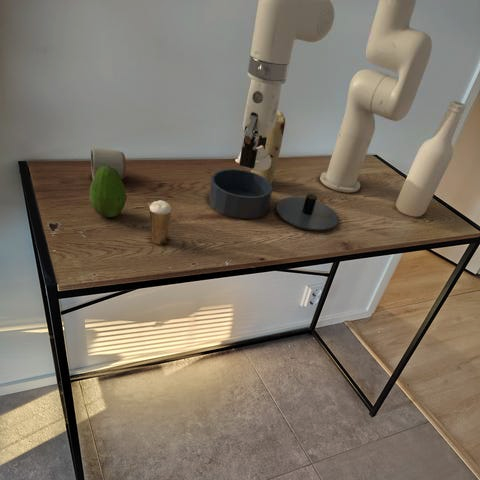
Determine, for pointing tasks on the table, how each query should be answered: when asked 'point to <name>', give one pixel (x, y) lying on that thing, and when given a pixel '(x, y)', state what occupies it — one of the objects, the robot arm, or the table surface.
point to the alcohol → (430, 165)
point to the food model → (273, 146)
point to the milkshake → (159, 220)
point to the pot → (240, 193)
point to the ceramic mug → (108, 160)
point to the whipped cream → (259, 160)
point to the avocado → (107, 192)
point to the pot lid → (307, 213)
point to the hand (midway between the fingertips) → (251, 159)
